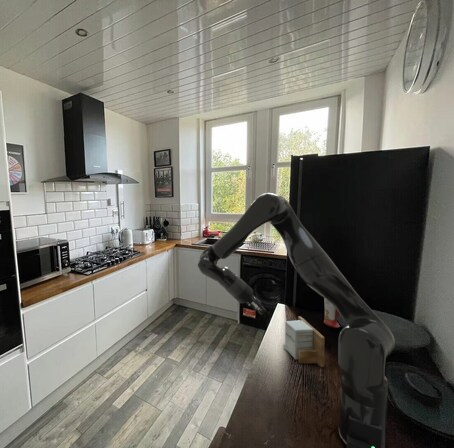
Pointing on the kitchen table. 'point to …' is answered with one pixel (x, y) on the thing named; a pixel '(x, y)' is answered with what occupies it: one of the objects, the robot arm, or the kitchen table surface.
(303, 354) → the wooden stand
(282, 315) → the kitchen table surface
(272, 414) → the kitchen table surface
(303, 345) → the white packaging box
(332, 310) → the liquor
